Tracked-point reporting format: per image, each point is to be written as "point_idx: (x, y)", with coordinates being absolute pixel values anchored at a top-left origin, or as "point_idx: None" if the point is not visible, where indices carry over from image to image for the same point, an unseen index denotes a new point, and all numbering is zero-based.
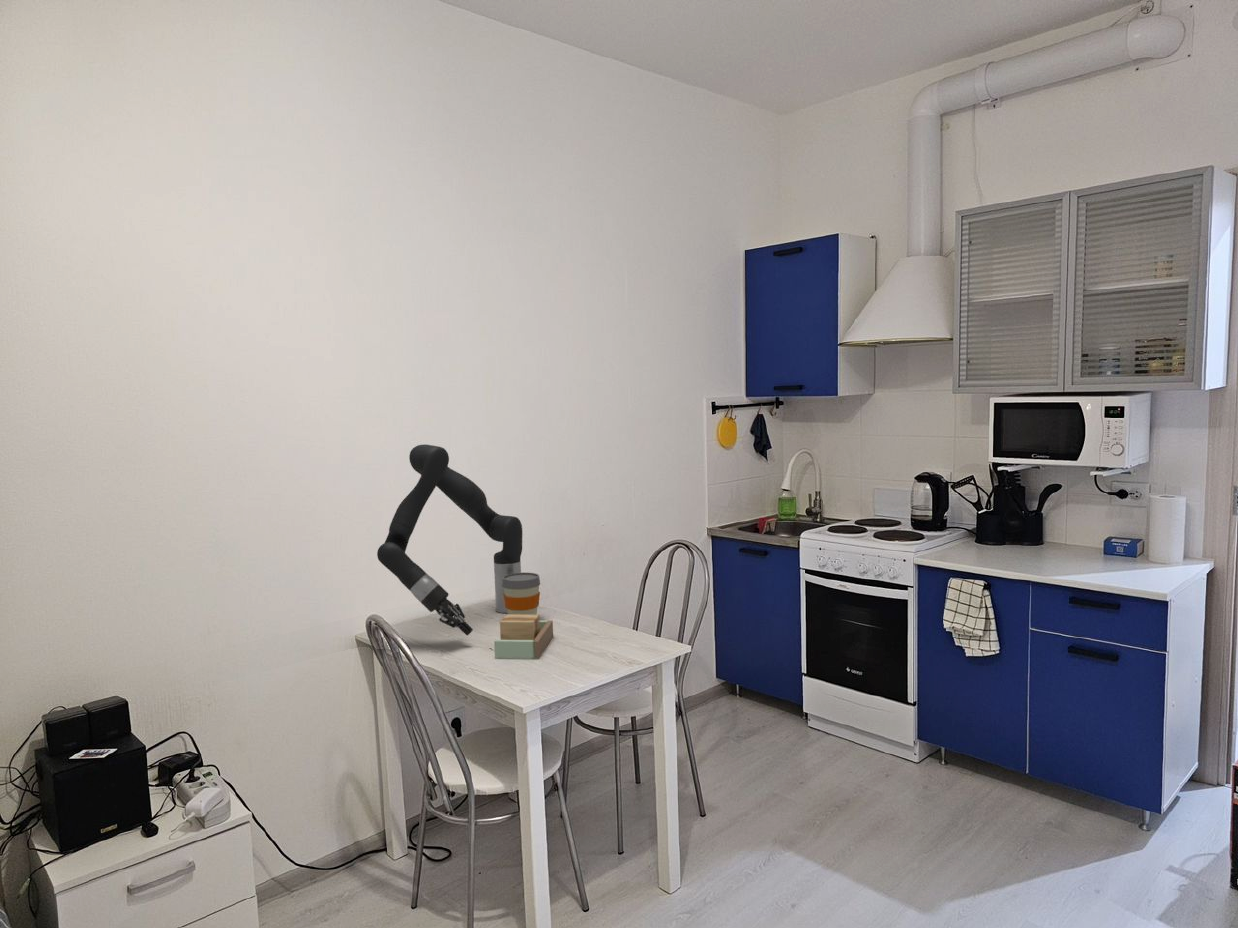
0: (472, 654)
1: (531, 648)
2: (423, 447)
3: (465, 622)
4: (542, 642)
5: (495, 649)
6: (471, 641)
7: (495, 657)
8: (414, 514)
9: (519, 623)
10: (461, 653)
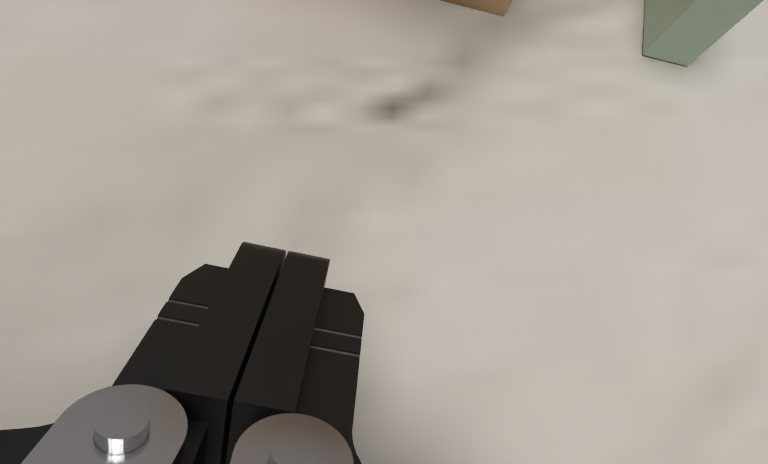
0: (575, 278)
1: None
2: None
3: (203, 364)
4: None
5: (747, 5)
6: (73, 337)
7: (692, 58)
8: None
9: None
10: (535, 407)
